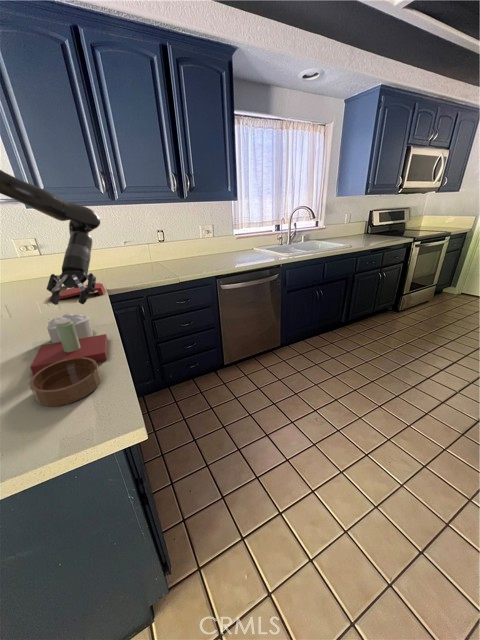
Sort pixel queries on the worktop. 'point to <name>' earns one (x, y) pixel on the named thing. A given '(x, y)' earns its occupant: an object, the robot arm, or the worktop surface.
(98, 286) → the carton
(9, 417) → the worktop surface
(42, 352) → the book
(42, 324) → the worktop surface
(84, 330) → the lumpy-topped squat cylinder
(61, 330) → the pepper shaker
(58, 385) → the bowl
